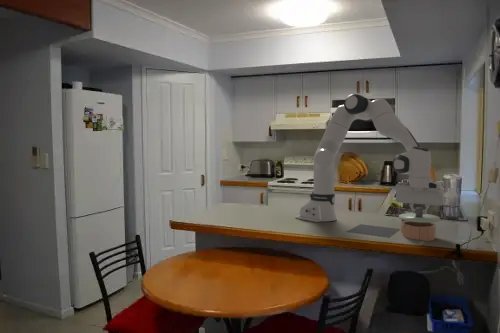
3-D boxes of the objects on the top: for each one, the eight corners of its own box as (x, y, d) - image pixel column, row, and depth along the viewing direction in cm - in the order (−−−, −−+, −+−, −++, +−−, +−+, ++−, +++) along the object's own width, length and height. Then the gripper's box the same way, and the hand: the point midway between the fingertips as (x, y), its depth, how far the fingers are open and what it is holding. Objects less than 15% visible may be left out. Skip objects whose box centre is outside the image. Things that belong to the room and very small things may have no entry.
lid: (394, 220, 182) (394, 209, 182) (403, 213, 196) (404, 203, 196) (436, 224, 173) (436, 213, 172) (442, 217, 187) (443, 206, 187)
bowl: (398, 238, 183) (398, 224, 183) (405, 232, 195) (406, 219, 194) (431, 242, 175) (432, 228, 175) (437, 235, 187) (438, 222, 186)
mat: (345, 232, 193) (346, 231, 193) (360, 225, 210) (360, 224, 210) (389, 238, 182) (389, 237, 182) (400, 230, 199) (400, 229, 199)
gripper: (394, 182, 187) (393, 212, 188) (443, 185, 175) (442, 217, 176) (397, 181, 192) (397, 210, 193) (445, 183, 180) (444, 214, 181)
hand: (419, 213), depth 184 cm, fingers closed on lid, 3 cm apart
